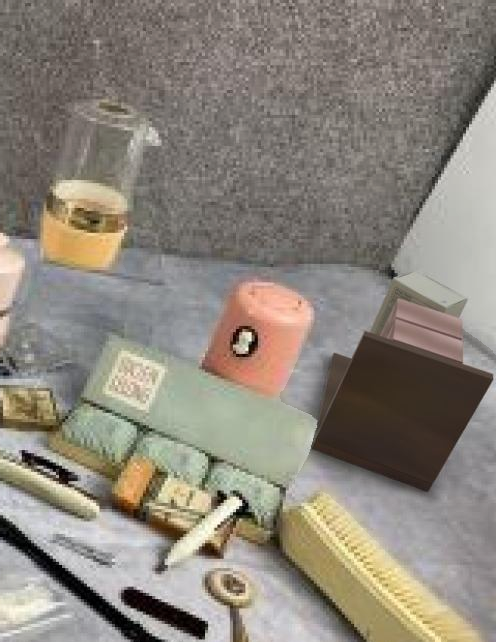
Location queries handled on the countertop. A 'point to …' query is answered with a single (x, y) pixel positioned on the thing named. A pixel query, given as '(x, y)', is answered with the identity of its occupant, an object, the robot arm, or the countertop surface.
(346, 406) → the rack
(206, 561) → the countertop surface
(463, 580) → the countertop surface
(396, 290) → the cosmetic box
